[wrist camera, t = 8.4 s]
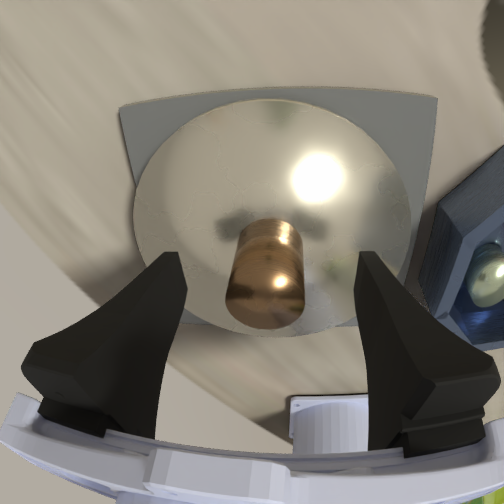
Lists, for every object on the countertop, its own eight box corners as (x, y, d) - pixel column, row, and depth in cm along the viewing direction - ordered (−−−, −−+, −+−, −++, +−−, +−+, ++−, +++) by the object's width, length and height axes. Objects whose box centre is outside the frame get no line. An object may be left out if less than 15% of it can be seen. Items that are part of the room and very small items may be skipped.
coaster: (389, 317, 18) (391, 324, 18) (180, 315, 20) (178, 323, 20) (431, 95, 11) (437, 98, 10) (124, 104, 12) (118, 108, 12)
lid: (381, 320, 18) (394, 385, 14) (175, 319, 19) (155, 381, 16) (418, 99, 10) (473, 132, 7) (114, 116, 12) (52, 155, 8)
